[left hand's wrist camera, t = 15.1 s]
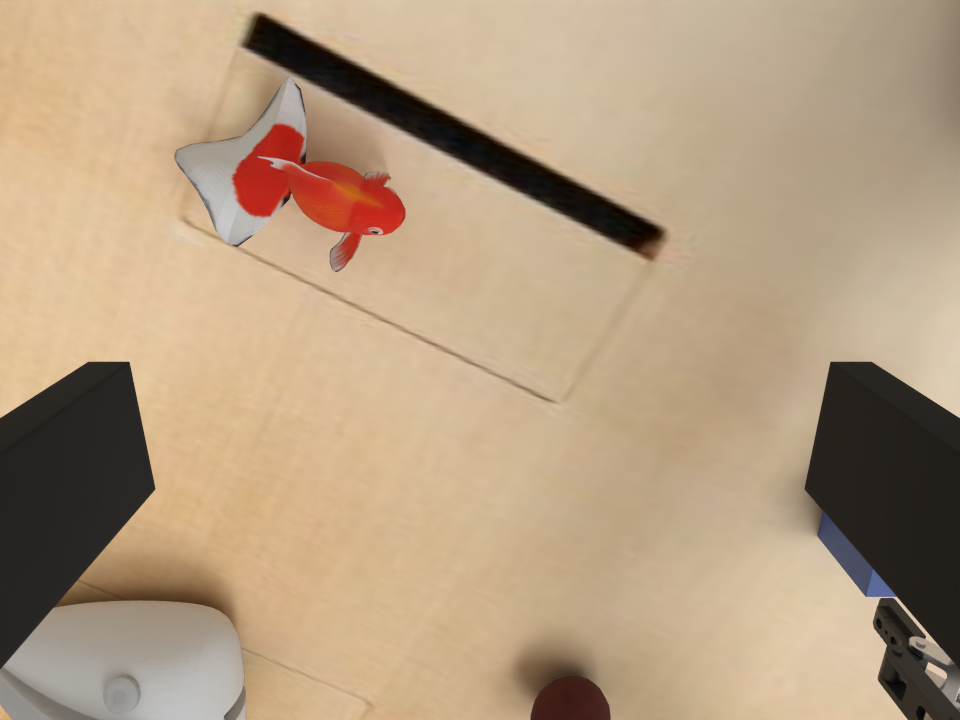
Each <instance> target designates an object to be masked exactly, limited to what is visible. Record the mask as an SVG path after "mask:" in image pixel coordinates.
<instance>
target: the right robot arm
mask: <svg viewBox="0 0 960 720" xmlns="http://www.w3.org/2000/svg"><path fill="white" fill-rule="evenodd" d="M873 626H874V629H875V630H876V631H877V633H878V634H879V635H880V637H881V638H882V639H883V641H884V642H885V643H886V645H887V647H886V651H885V654H884V658H883V661H882V664H881V668H880V672H879V675H878V681H879V683H880V684H881V685H882V686H883V688H884V689H885V690H886V692H887V693H888V694H889V696H890V697H891V698H892V700H893V701H894V702H895V703H896V705H897V706H898V707H899V709H900V710H901V711H902V713H903V714H904V715H905V716H906V718H907V719H908V720H960V669H959V668H958V667H957V666H956V665H955V664H954V662H953V661H952V660H951V659H950V658H949V657H948V655H947V654H946V653H945V652H944V651H943V650H942V648H940V647H938V646H936V645H935V644H933V643H931V642H929V641H927V640H925V638H926V636H925V635H924V633H923V632H922V631H921V630H920V629H919V627H918V626H917V625H916V624H915V623H914V622H913V620H912V619H911V618H910V617H909V616H908V614H907V613H906V612H905V611H904V610H903V608H902V607H901V606H900V605H899V604H898V602H897V601H896V600H895V599H894V598H881V599H880V601H879V604H878V606H877V609H876V613H875V616H874V620H873ZM928 662H930V663H932V664H933V665H935V666H937V667H939V668H941V669H942V670H944V671H945V672H946V673H947V679H944V678H942V677H940V676H938V675H937V674H935V673H933V672H931V671H930V670H928V669H926V667H927V664H928ZM905 682H906V683H905Z"/></svg>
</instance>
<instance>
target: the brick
mask: <svg viewBox="0 0 960 720" xmlns="http://www.w3.org/2000/svg"><path fill="white" fill-rule="evenodd" d="M818 537H819V539H820V540H821V541H822V542H823V544H824V545H825V546H826V548H827V549H828V550H829V551H830V553H831V554H832V555H833V556H834V558H835V559H836V560H837V561H838V563H839V564H840V565H841V566H842V568H843V569H844V570H845V571H846V573H847V574H848V575H849V576H850V578H851V579H852V580H853V581H854V583H855V584H856V585H857V586H858V588H859V589H860V590H861V591H862V593H863V594H864V595H865V596H866V597H897V596H896V595H895V594H894V593H893V591H892V590H891V589H890V588H889V587H888V586H887V584H886V583H885V582H884V581H883V580H882V579H881V577H880V576H879V575H878V574H877V573H876V572H875V571H874V569H873V568H872V567H871V566H870V565H869V564H868V562H867V561H866V560H865V559H864V558H863V557H862V555H861V554H860V553H859V552H858V551H857V550H856V548H855V547H854V546H853V545H852V544H851V543H850V541H849V540H848V539H847V538H846V537H845V536H844V534H843V533H842V532H841V531H840V530H839V529H838V527H837V526H836V525H835V524H834V523H833V522H832V520H831V519H830V518H829V517H828V516H827V515H826V513H825V512H824V511H823V515H822V520H821V525H820V529H819V534H818Z"/></svg>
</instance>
